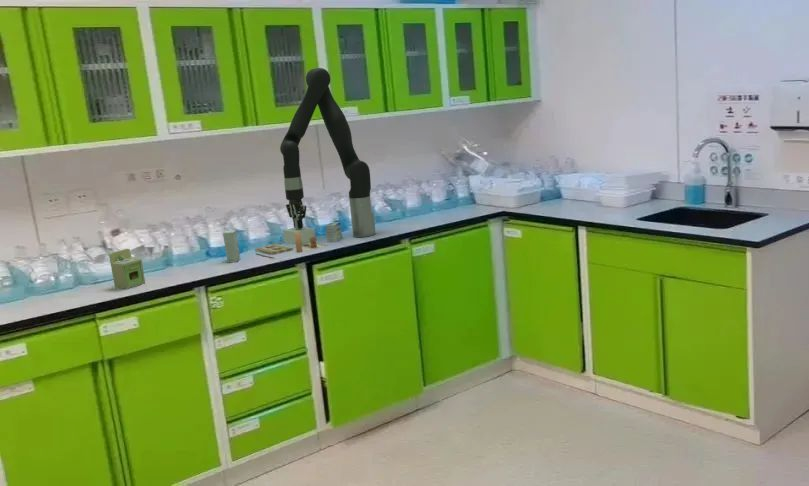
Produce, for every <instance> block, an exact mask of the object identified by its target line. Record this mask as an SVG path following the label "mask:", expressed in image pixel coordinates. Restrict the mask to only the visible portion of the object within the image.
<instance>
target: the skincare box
mask: <svg viewBox="0 0 809 486" xmlns="http://www.w3.org/2000/svg"><path fill="white" fill-rule="evenodd" d="M222 237H223V242H224V249H225V255H226V261H227V263H237V262H238V261H240V260H241V255H240V249H239V243H238V236H237V230H236V229H232V230H226V231H224V232H223V233H222Z"/></svg>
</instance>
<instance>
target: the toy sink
mask: <svg viewBox="0 0 809 486" xmlns="http://www.w3.org/2000/svg"><path fill="white" fill-rule="evenodd" d="M108 256H109V262H110V267H111V273H112V278H113V284H114V285H113V286H114V288H116V289H121V290H129V289H131V288H134V287H137V286H140V285H144V284H146V278H145V273H144V268H143V267H144V266H143V259H142V258H139V257H132V254H131V249H130V248H123V249H120V250H116V251H112V252H110V253H109V254H108Z"/></svg>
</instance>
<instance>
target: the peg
mask: <svg viewBox="0 0 809 486" xmlns="http://www.w3.org/2000/svg"><path fill="white" fill-rule="evenodd" d="M295 242H296V245H295V246H296V248H295V249H296V253H302V252H303V251H304V250H303V249H302V245H303V244H302V241H301V233H295Z"/></svg>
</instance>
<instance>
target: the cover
mask: <svg viewBox="0 0 809 486" xmlns="http://www.w3.org/2000/svg"><path fill="white" fill-rule="evenodd" d="M294 221H295V228H294V227H290V228H287V229H283V230H282V233H283V240H284V243H287V244H291V245H294V246H296V242H295V233H301V241H302V245H303V244H308V243H310V237H316V232H315V228H312V227H307V226H303V228H300V229H299V228H298V225H297V218H294Z"/></svg>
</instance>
